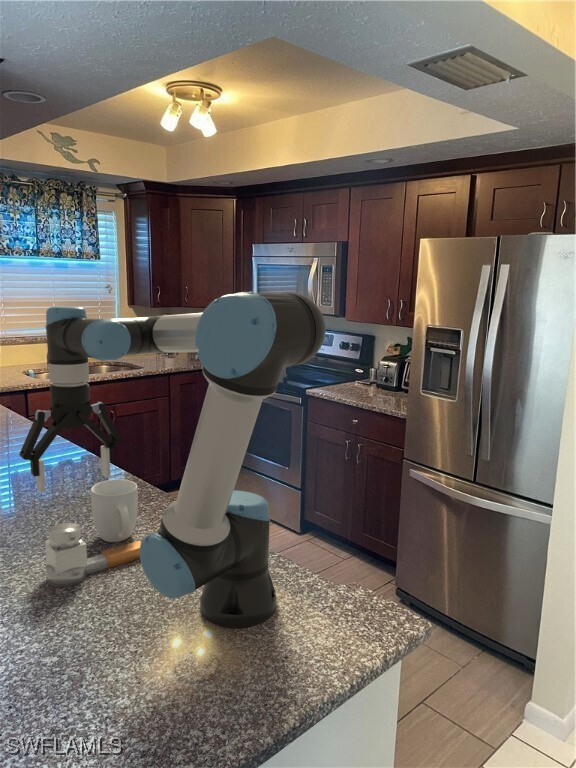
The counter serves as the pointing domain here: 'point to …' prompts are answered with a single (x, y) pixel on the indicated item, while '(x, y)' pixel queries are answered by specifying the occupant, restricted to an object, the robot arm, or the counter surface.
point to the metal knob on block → (65, 548)
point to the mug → (114, 509)
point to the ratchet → (95, 565)
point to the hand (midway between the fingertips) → (74, 483)
